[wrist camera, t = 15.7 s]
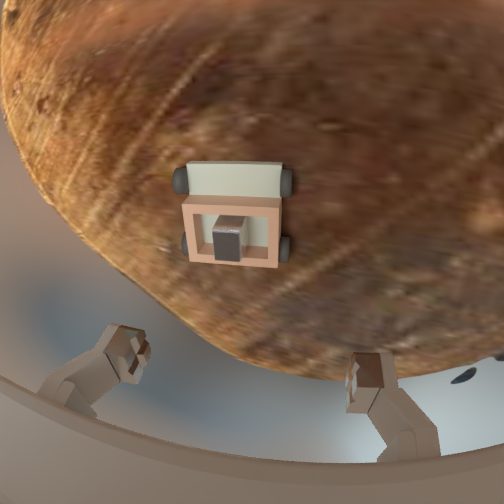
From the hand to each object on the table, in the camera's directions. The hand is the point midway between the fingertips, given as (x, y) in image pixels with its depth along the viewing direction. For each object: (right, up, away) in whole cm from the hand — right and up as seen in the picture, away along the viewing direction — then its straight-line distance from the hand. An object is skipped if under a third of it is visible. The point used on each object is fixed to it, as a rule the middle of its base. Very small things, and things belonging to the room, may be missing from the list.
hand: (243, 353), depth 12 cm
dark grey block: (-2, +8, +38) cm, 39 cm away
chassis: (-2, +10, +38) cm, 40 cm away
